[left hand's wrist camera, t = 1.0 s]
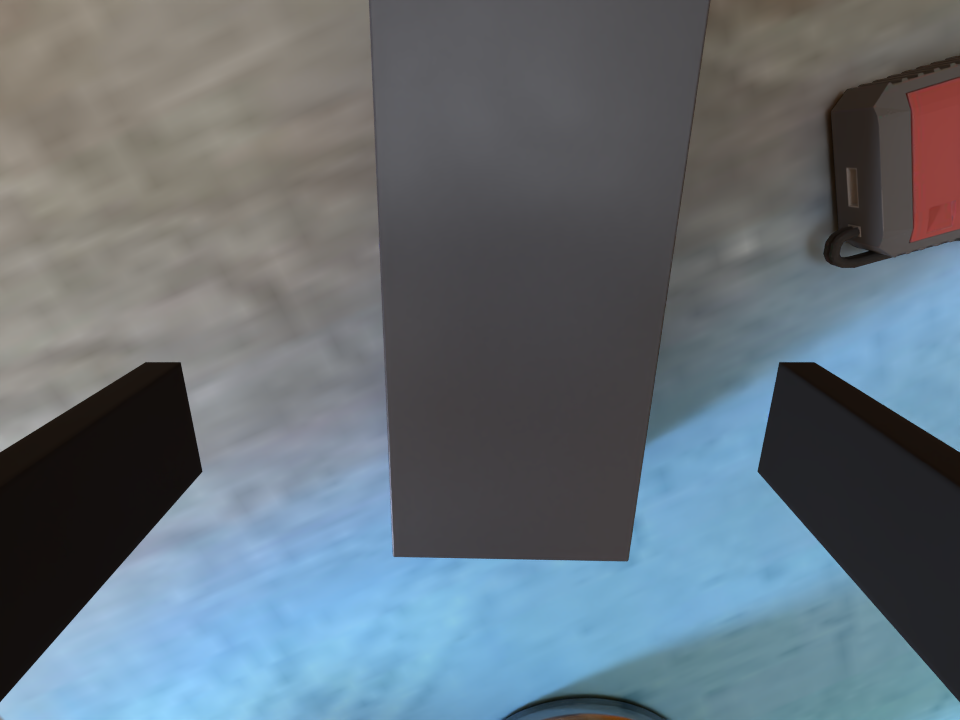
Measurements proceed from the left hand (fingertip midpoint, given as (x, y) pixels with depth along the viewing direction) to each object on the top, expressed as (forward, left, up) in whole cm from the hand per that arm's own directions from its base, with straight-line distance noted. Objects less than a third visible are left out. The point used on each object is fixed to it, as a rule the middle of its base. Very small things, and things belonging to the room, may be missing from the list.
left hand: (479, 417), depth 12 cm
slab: (+20, -1, -14) cm, 25 cm away
